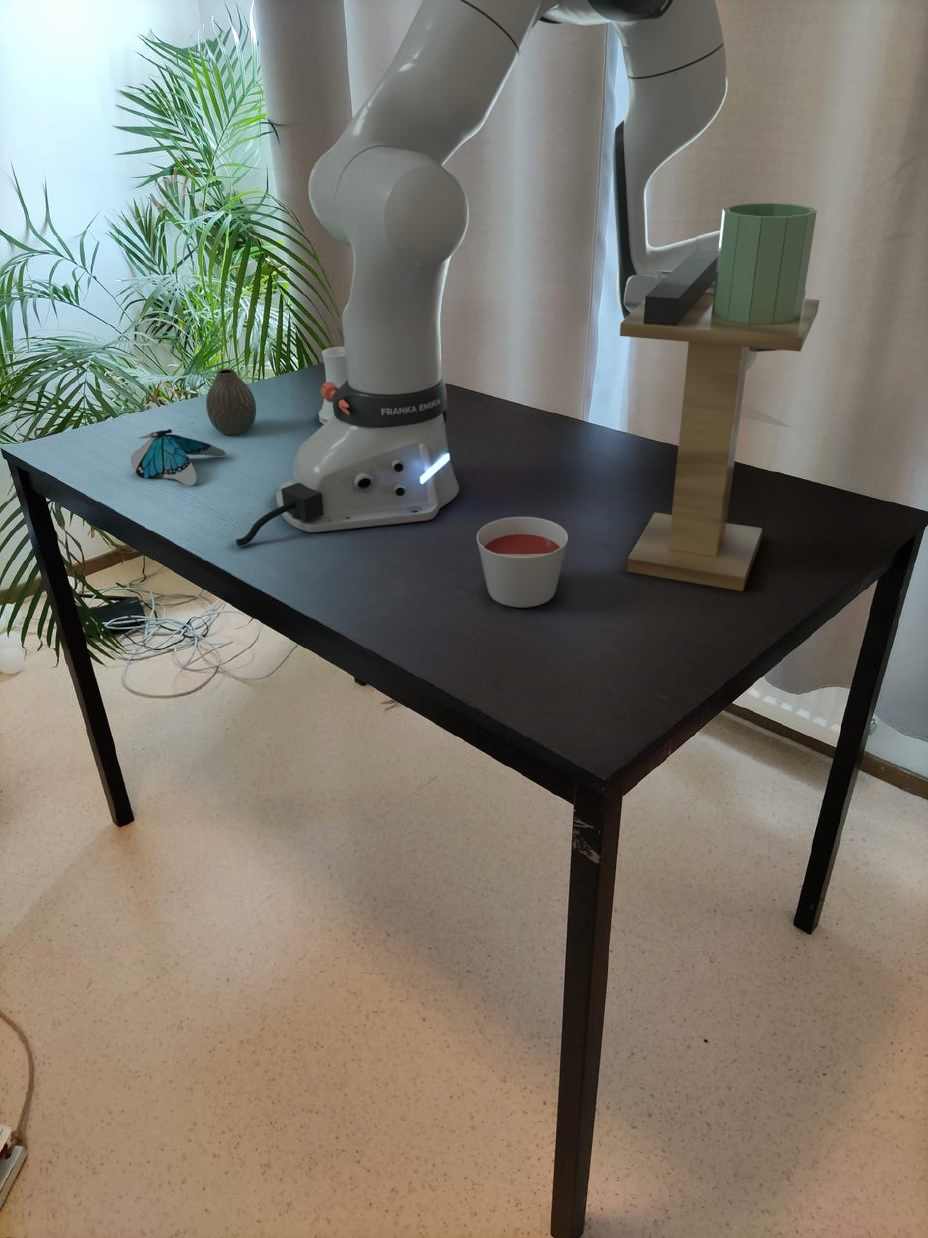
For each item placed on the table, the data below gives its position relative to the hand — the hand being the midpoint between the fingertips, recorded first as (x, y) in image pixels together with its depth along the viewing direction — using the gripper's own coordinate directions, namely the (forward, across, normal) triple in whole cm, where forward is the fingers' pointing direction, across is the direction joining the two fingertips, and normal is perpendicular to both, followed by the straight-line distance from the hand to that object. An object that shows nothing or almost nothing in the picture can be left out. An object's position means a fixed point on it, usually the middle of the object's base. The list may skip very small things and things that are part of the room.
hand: (705, 280), depth 106 cm
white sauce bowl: (+13, -10, +37) cm, 40 cm away
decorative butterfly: (0, -65, +30) cm, 71 cm away
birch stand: (+1, +5, +30) cm, 30 cm away
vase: (-13, -65, +22) cm, 70 cm away
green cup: (+14, +8, +7) cm, 17 cm away
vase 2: (-22, -53, +17) cm, 59 cm away
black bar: (+10, 0, +5) cm, 11 cm away
